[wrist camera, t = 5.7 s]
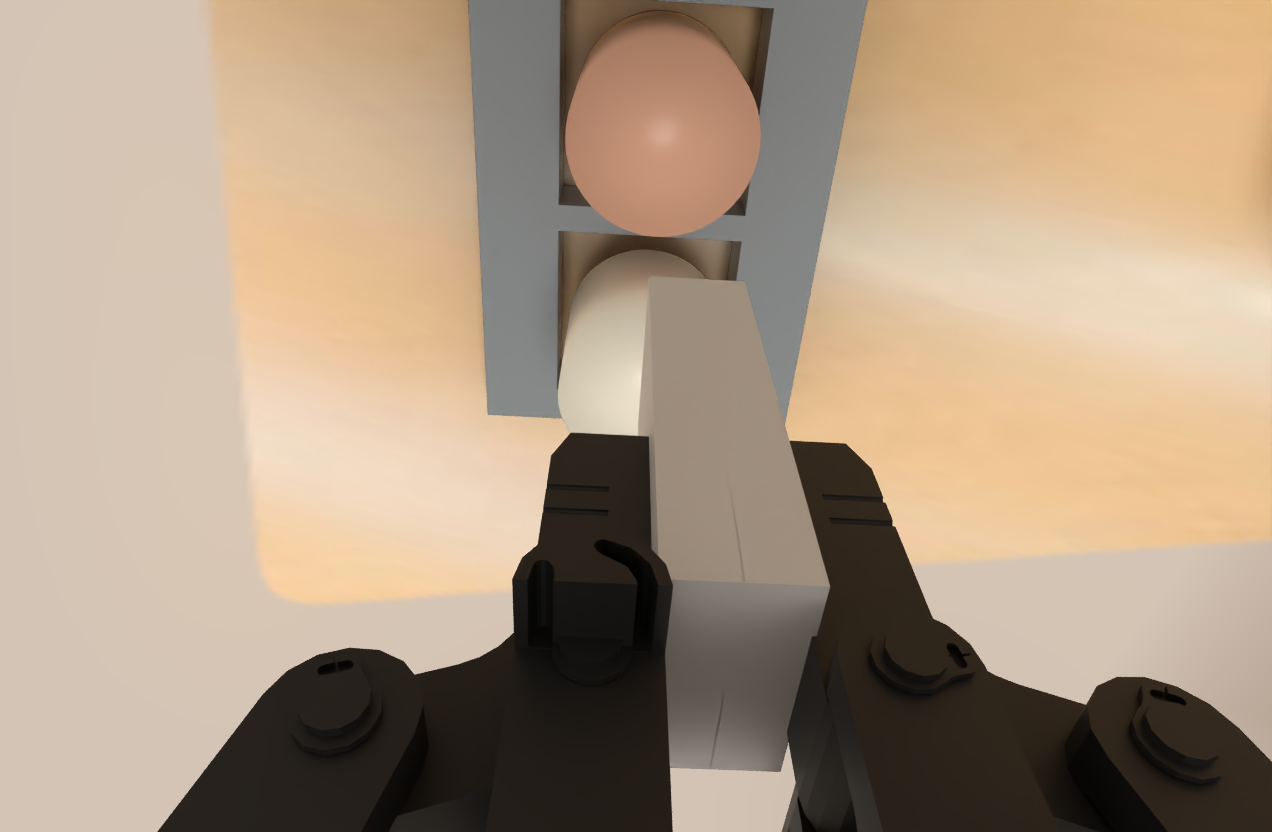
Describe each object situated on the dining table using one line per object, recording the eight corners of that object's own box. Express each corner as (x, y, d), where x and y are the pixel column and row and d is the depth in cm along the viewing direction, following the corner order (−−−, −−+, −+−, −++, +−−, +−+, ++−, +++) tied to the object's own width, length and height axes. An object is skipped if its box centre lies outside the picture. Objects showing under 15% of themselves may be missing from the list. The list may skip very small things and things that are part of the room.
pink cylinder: (578, 5, 28) (566, 29, 23) (749, 17, 28) (774, 42, 23) (575, 177, 31) (563, 231, 26) (728, 186, 31) (746, 242, 26)
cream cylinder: (571, 245, 31) (558, 313, 26) (727, 254, 31) (745, 323, 26) (568, 380, 34) (557, 465, 29) (709, 388, 34) (722, 473, 29)
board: (464, -398, 23) (448, -427, 21) (915, -360, 23) (942, -384, 21) (496, 386, 37) (487, 414, 35) (775, 400, 37) (783, 429, 35)
